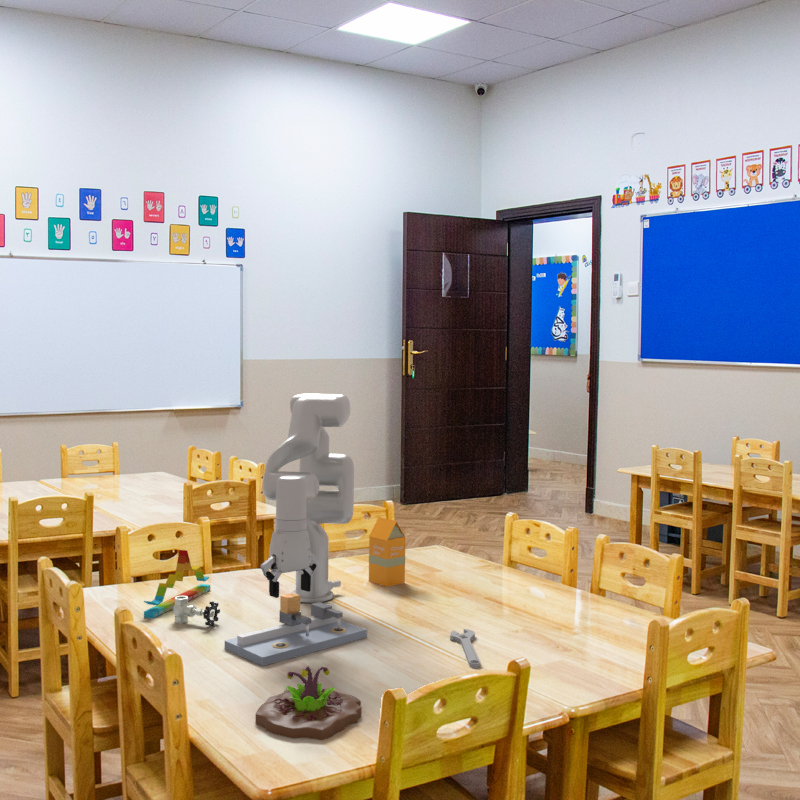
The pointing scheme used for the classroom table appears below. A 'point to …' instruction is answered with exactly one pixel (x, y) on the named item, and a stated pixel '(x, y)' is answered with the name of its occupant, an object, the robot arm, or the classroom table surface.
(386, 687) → the classroom table surface
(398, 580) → the orange juice
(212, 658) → the classroom table surface
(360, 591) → the classroom table surface
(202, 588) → the chart
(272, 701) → the plant
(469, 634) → the adjustable wrench
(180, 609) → the valve
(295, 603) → the divider leg
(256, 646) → the bolt hole plate
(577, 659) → the classroom table surface
